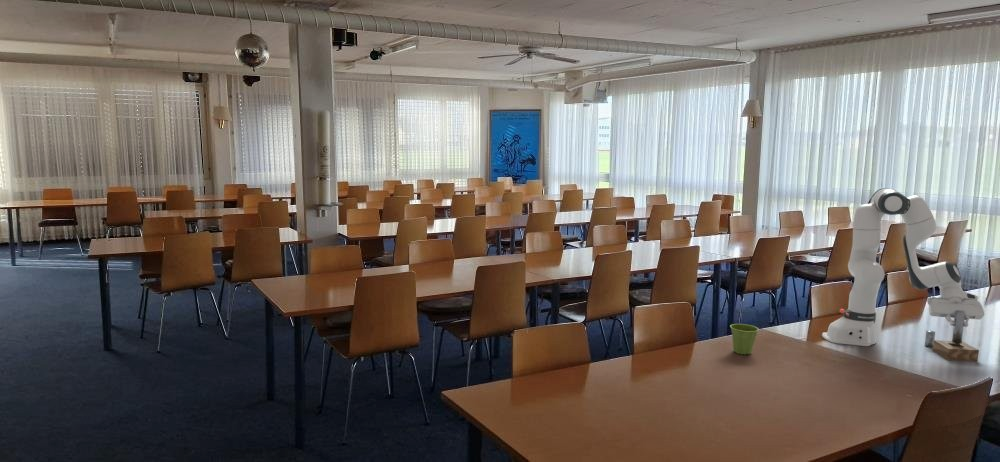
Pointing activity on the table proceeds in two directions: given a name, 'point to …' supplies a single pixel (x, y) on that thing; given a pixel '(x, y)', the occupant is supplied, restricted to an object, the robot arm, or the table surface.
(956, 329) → the long pin
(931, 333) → the short pin
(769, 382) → the table surface
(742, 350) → the plant pot
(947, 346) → the hole block
